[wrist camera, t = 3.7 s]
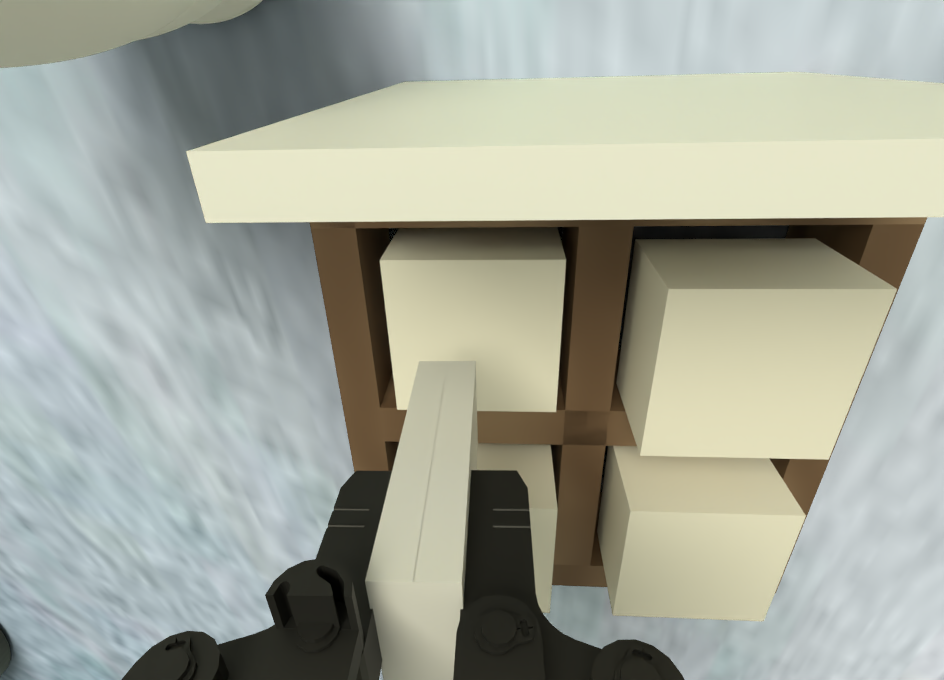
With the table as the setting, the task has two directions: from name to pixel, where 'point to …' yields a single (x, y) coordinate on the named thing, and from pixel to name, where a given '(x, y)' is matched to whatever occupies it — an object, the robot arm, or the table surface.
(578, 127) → the card
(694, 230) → the table surface
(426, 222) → the board
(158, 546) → the table surface
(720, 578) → the button far right
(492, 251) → the button near left
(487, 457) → the button far left
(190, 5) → the jar
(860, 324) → the button near right
